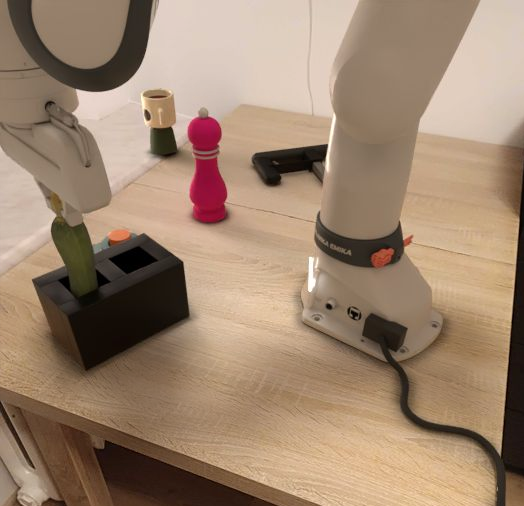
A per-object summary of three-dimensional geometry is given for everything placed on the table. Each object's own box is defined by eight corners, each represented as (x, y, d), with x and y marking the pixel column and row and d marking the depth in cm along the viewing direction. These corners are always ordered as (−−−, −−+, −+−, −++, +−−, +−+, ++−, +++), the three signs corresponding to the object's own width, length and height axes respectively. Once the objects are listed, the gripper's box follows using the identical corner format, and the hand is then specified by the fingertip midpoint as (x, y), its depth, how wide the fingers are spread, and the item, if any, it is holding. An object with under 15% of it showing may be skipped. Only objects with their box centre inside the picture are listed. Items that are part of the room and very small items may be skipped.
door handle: (359, 172, 107) (329, 138, 117) (271, 184, 103) (248, 148, 113) (357, 186, 110) (328, 152, 120) (271, 199, 105) (248, 162, 115)
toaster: (189, 316, 76) (183, 261, 69) (86, 371, 68) (67, 316, 61) (153, 286, 82) (143, 232, 75) (52, 334, 73) (31, 279, 66)
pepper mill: (222, 226, 95) (218, 117, 81) (186, 221, 96) (175, 113, 82) (232, 207, 100) (229, 102, 86) (197, 203, 101) (188, 98, 87)
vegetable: (84, 308, 72) (43, 175, 58) (113, 309, 72) (80, 176, 58) (74, 328, 69) (30, 193, 55) (106, 329, 69) (69, 194, 55)
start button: (136, 244, 84) (134, 235, 83) (117, 252, 82) (115, 243, 81) (124, 235, 86) (123, 226, 84) (106, 243, 84) (104, 234, 83)
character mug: (146, 144, 122) (138, 86, 113) (176, 141, 123) (170, 84, 114) (151, 163, 114) (143, 103, 105) (182, 160, 116) (176, 100, 107)
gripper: (112, 111, 46) (136, 242, 55) (17, 61, 56) (51, 178, 66) (46, 129, 43) (84, 264, 52) (-41, 72, 53) (4, 193, 63)
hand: (65, 216), depth 59 cm, fingers closed on vegetable, 3 cm apart
